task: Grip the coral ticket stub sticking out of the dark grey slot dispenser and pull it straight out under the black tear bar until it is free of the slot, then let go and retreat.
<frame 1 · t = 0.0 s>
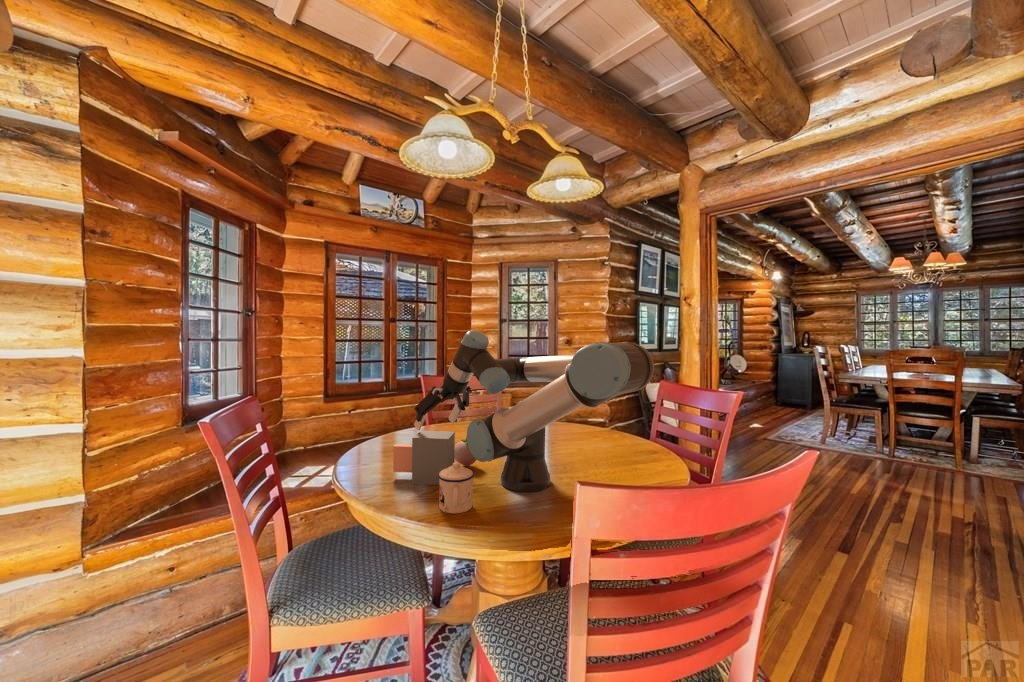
hand: (434, 424, 137), 15 cm above the table, tool tilted 35°, fingers open, 13 cm apart
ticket: (420, 458, 129), point 6 cm above the table, slide at 0.0 cm
teacup with lid: (455, 510, 108), on the table
dispenser: (416, 478, 129), on the table
decorative fruit: (465, 467, 141), on the table
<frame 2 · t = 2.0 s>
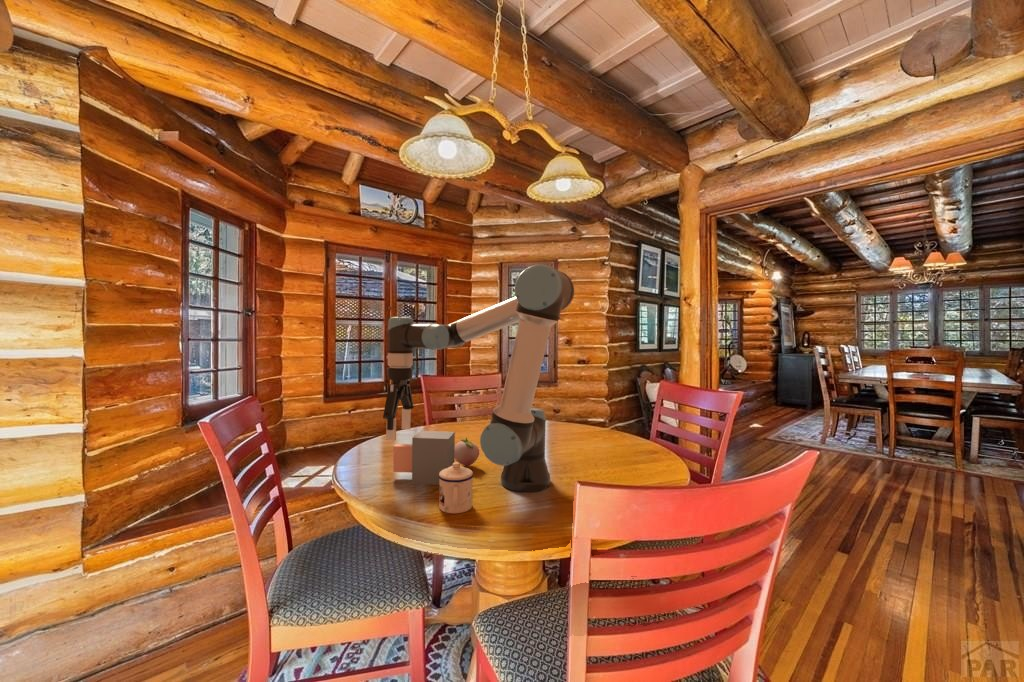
hand: (398, 434, 130), 14 cm above the table, tool pointing down, fingers open, 13 cm apart
nothing on the table moved.
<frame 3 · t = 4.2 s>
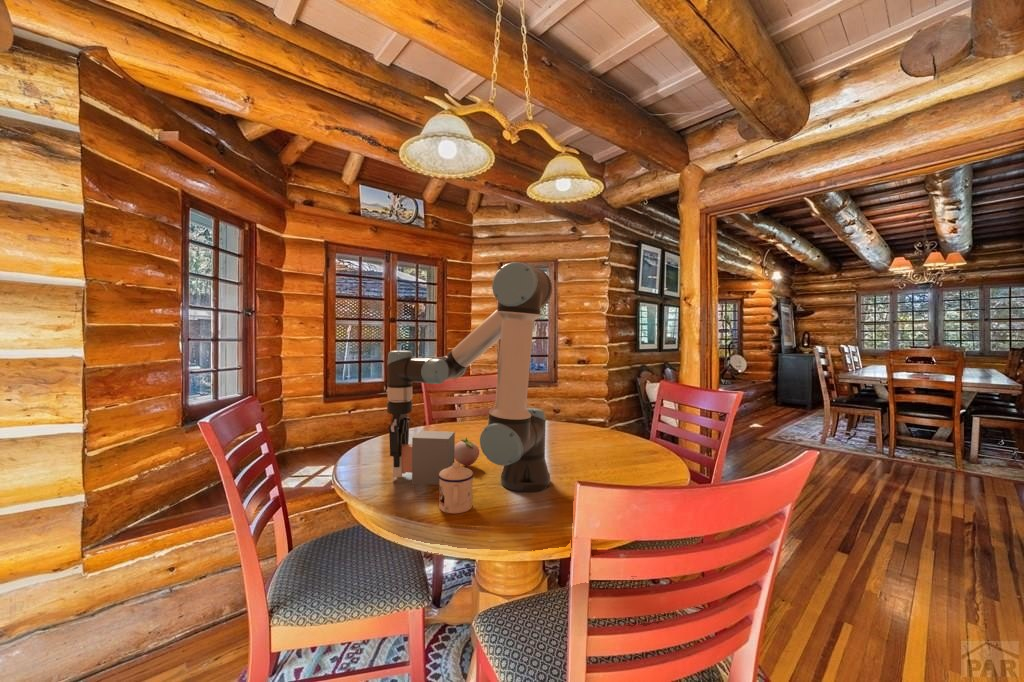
hand: (399, 474, 130), 1 cm above the table, tool pointing down, fingers closed on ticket, 2 cm apart
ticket: (420, 458, 129), point 6 cm above the table, slide at 0.0 cm, touching gripper
everything else where it was.
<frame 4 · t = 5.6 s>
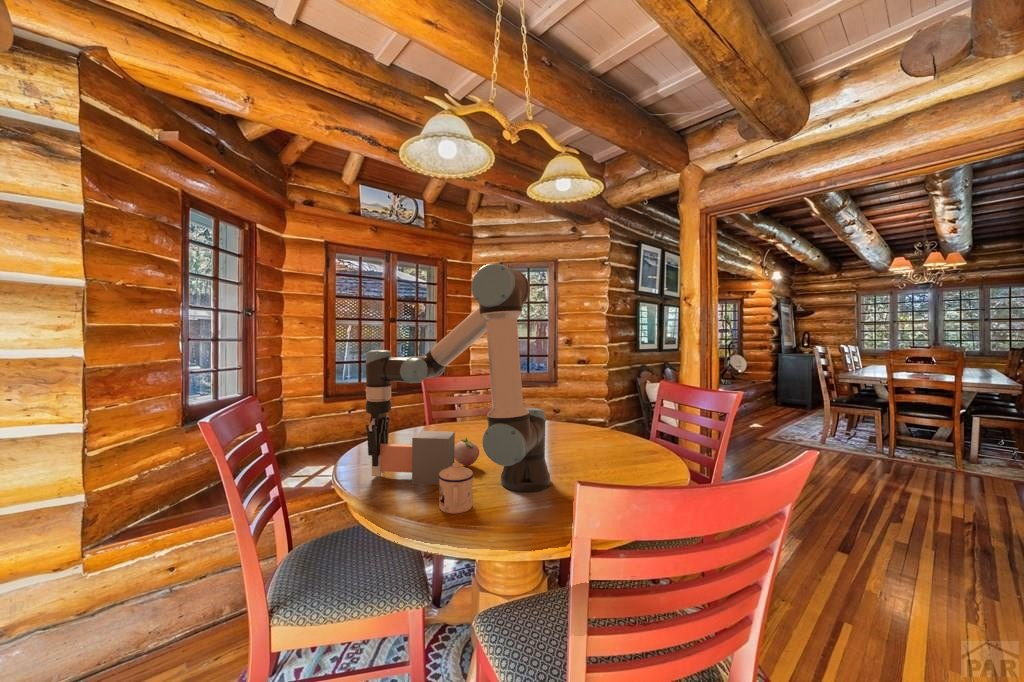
hand: (378, 473, 130), 1 cm above the table, tool pointing down, fingers closed on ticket, 2 cm apart
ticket: (399, 457, 130), point 6 cm above the table, slide at 6.7 cm, touching gripper
everything else where it was.
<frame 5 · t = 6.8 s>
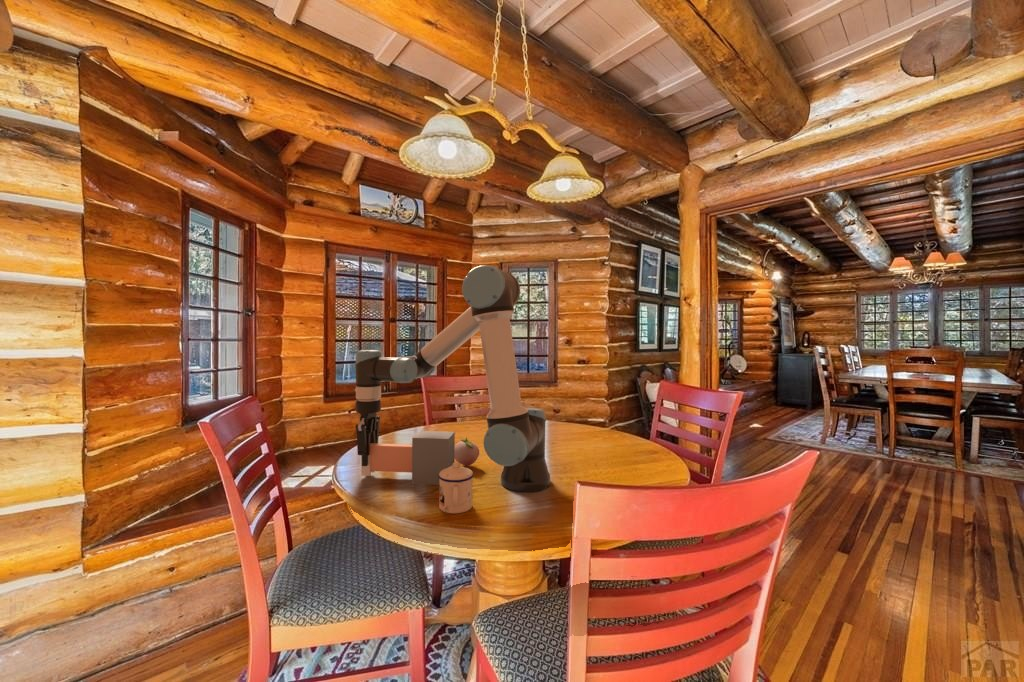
hand: (368, 473, 131), 1 cm above the table, tool pointing down, fingers closed on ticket, 2 cm apart
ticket: (389, 457, 130), point 6 cm above the table, slide at 10.1 cm, touching gripper
everything else where it was.
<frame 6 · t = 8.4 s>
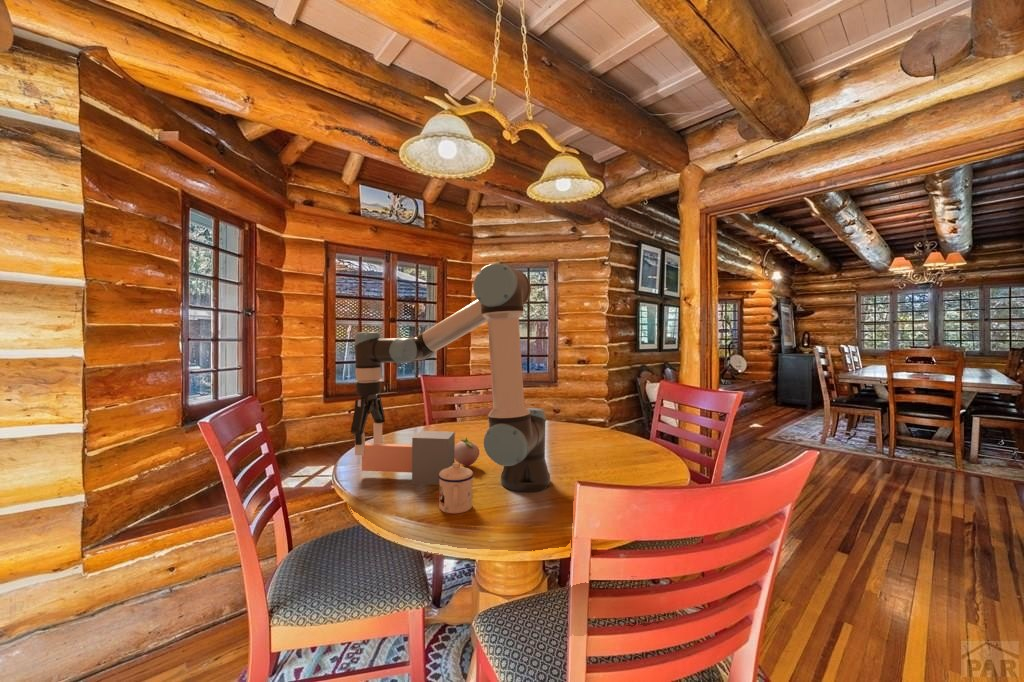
hand: (369, 448, 130), 9 cm above the table, tool pointing down, fingers open, 13 cm apart
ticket: (389, 457, 130), point 6 cm above the table, slide at 10.1 cm
everything else where it was.
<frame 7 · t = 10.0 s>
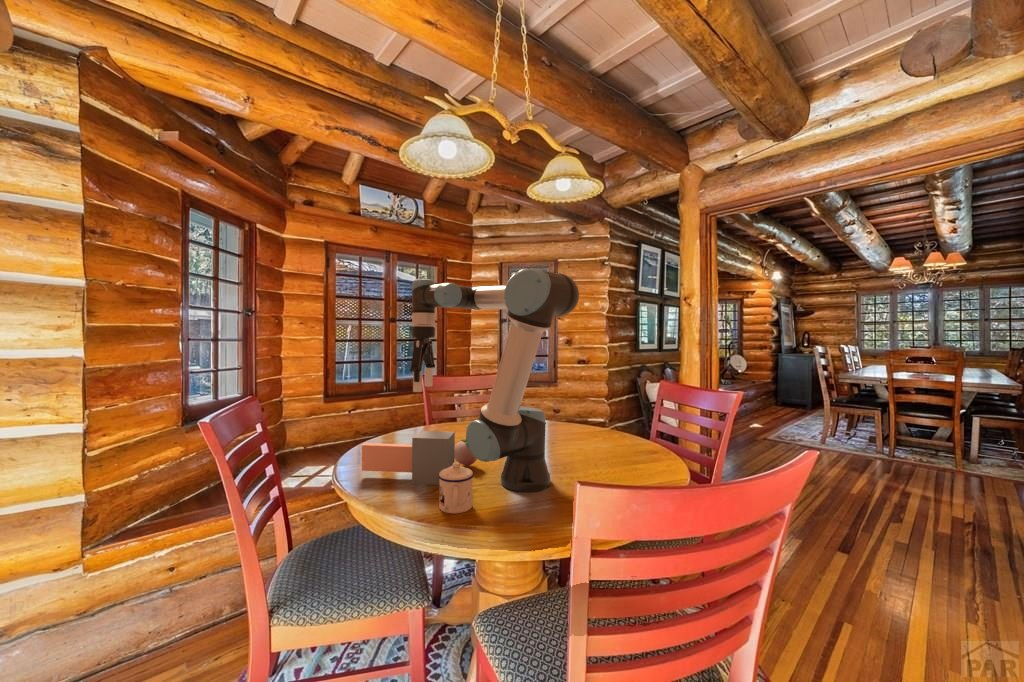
hand: (423, 389, 140), 26 cm above the table, tool pointing down, fingers open, 13 cm apart
nothing on the table moved.
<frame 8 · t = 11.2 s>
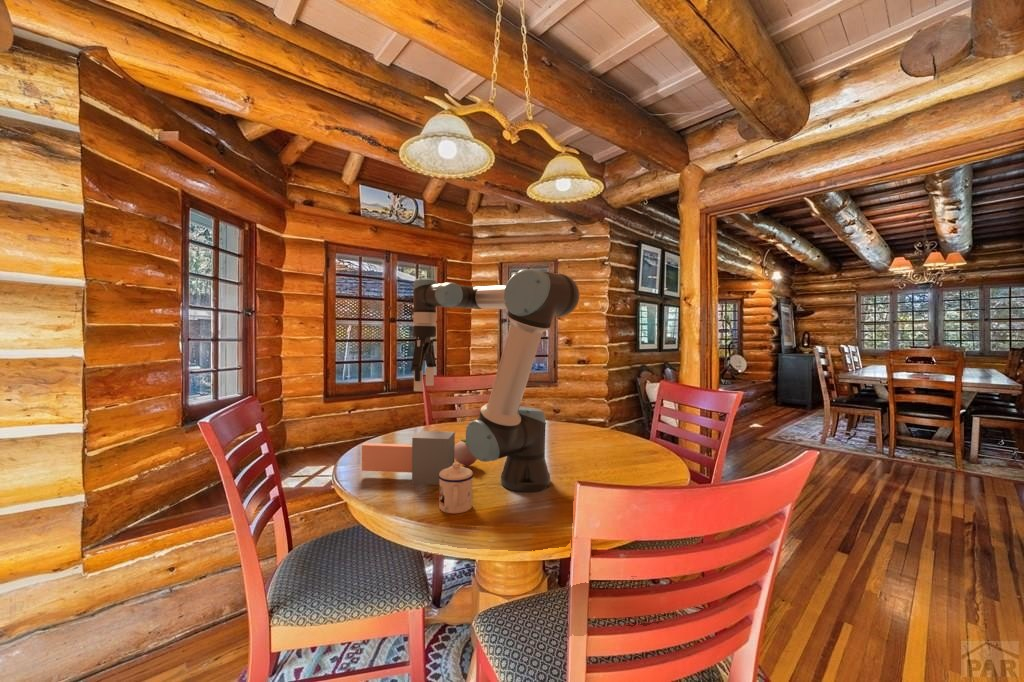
hand: (424, 388, 140), 27 cm above the table, tool pointing down, fingers open, 13 cm apart
nothing on the table moved.
at the end: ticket slide at 10.1 cm; the gripper is holding nothing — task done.
